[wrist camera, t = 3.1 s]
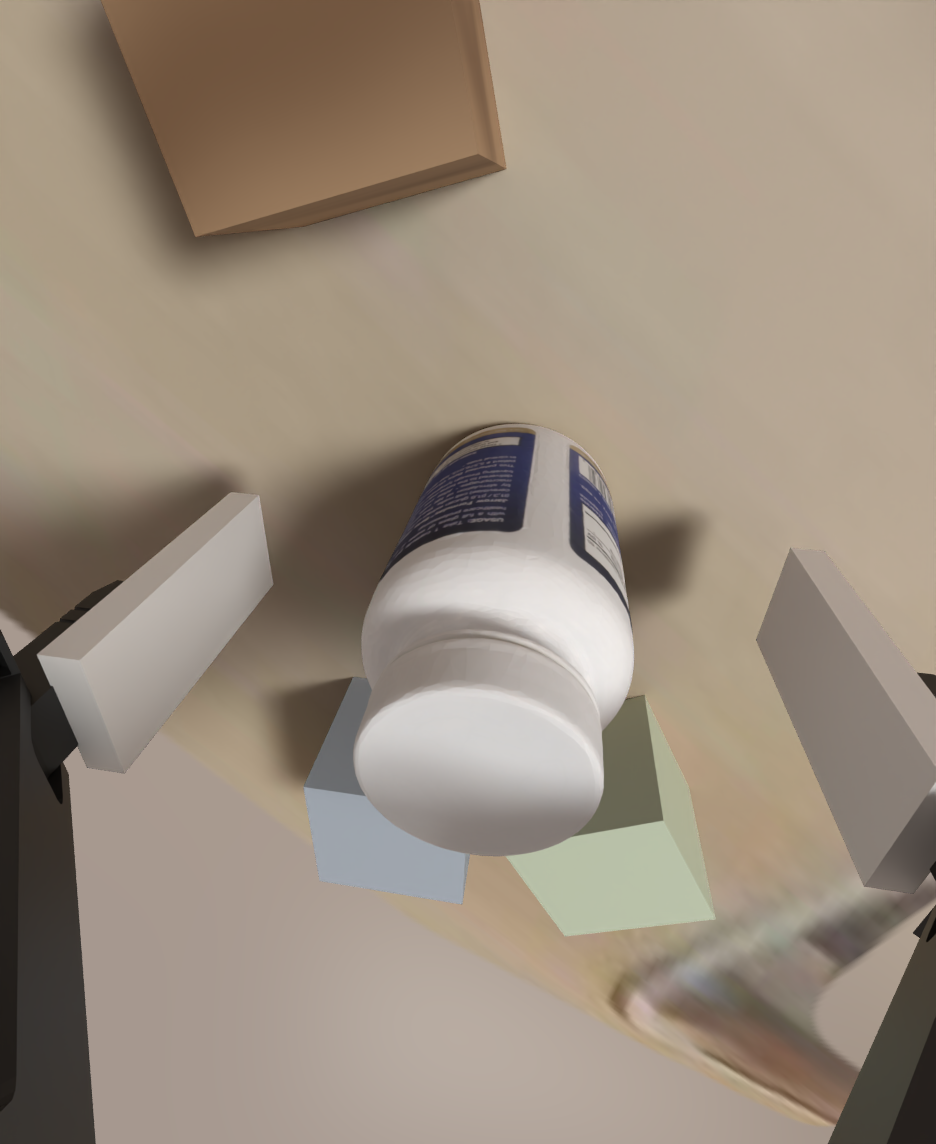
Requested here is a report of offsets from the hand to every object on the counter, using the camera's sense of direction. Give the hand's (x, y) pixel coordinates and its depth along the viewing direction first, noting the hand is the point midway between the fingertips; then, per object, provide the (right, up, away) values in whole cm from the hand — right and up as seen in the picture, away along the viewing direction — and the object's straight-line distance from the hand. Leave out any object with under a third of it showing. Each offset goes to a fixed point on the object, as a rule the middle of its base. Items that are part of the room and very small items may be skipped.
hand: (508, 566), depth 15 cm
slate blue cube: (-3, -6, +8) cm, 11 cm away
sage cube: (+4, -7, +7) cm, 11 cm away
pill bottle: (0, +2, +3) cm, 3 cm away
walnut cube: (-3, +11, -2) cm, 11 cm away
